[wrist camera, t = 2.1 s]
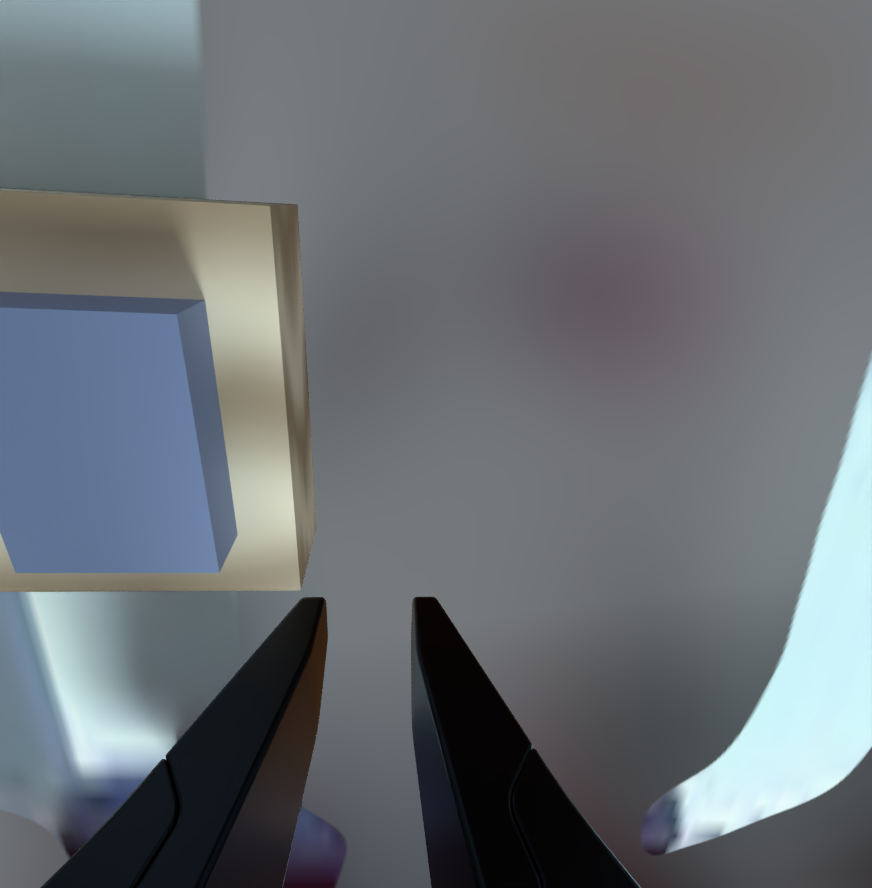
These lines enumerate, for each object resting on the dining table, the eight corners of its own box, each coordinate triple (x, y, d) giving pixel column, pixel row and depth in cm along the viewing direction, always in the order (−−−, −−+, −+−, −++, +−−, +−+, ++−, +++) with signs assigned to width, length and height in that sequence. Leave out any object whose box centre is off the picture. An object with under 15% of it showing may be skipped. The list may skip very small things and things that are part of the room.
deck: (316, 528, 23) (300, 590, 19) (29, 526, 22) (-45, 591, 18) (297, 204, 17) (269, 205, 13) (-91, 182, 16) (-234, 177, 12)
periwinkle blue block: (237, 535, 18) (219, 572, 16) (55, 533, 17) (15, 573, 15) (204, 299, 14) (176, 314, 12) (-24, 290, 14) (-87, 304, 12)
